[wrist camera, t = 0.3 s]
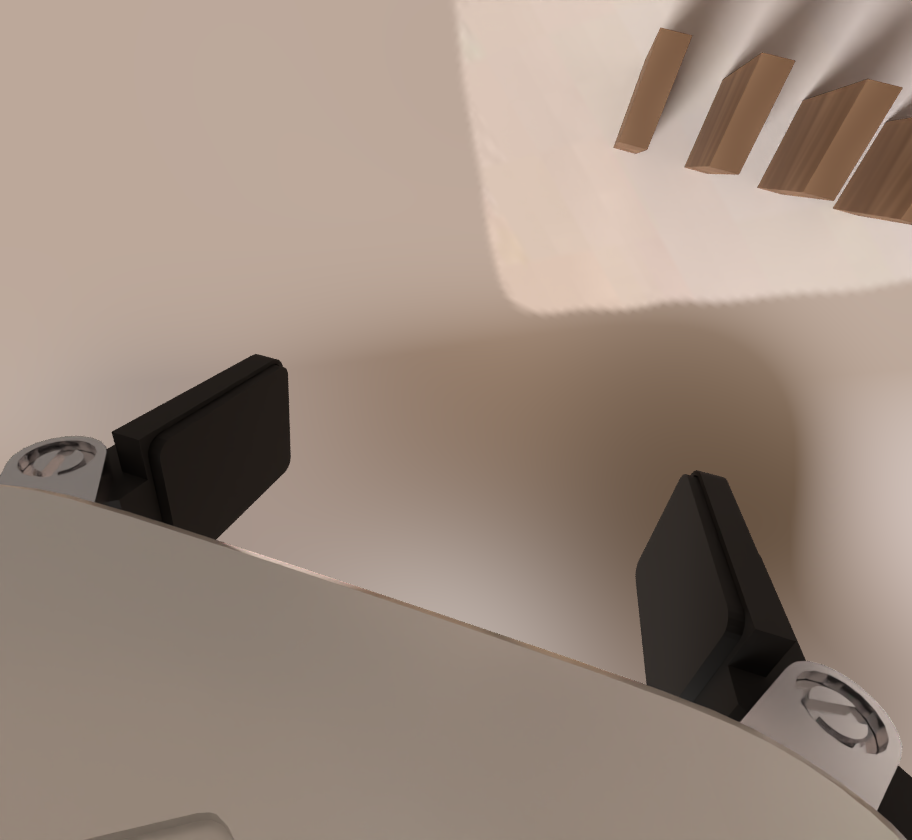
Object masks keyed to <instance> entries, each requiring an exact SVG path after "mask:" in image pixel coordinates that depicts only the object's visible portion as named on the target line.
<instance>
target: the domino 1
mask: <svg viewBox="0 0 912 840" xmlns="http://www.w3.org/2000/svg"><path fill="white" fill-rule="evenodd" d="M691 38H692V35H688V34H684V33H680V32H676V31H672V30H668V29H664V28H660V30H659V32H658V34H657V36H656V38H655V40H654V42H653V45H652V47H651V49H650V51H649V53H648V55H647V57H646V59H645V62H644V65H643V68H642V70H641V73H640V76H639V79H638V81H637V84H636V87H635V90H634V92H633V95H632V98H631V101H630V103H629V106H628V109H627V112H626V114H625V117H624V120H623V123H622V125H621V128H620V131H619V134H618V137H617V139H616V142H615V145H614V148H617V149H620V150H624V151H627V152H631V153H635V154H637V153H639V152H642V151H645V150H647V149H648V146H649V144H650V141H651V139H652V136H653V134H654V131H655V129H656V126H657V124H658V121H659V119H660V116H661V114H662V111H663V109H664V106H665V103H666V101H667V98H668V96H669V93H670V91H671V88H672V86H673V83H674V81H675V78H676V76H677V73H678V71H679V68H680V66H681V63H682V61H683V58H684V55H685V53H686V50H687V48H688V45H689V43H690V40H691Z"/></svg>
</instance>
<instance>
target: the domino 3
mask: <svg viewBox="0 0 912 840" xmlns="http://www.w3.org/2000/svg"><path fill="white" fill-rule="evenodd" d="M901 90H902V87H898V86H894V85H890V84H886V83H882V82H878V81H874V80H870V79H866V80H863V81H860V82H857V83H854V84H851V85H848V86H845V87H842V88H839V89H836V90H833V91H830V92H827V93H824V94H821V95H818V96H815V97H812V98H809V99H806V100H803V101H802V103H801V105H800V107H799V109H798V111H797V113H796V115H795V117H794V119H793V120H792V122H791V124H790V126H789V128H788V130H787V132H786V134H785V136H784V138H783V140H782V141H781V143H780V145H779V147H778V149H777V151H776V153H775V155H774V157H773V159H772V161H771V162H770V164H769V166H768V168H767V170H766V172H765V174H764V176H763V178H762V180H761V182H760V184H759V185H758V187H757V188H761V189H764V190H768V191H772V192H775V193H779V194H784V195H792V196H799V197H807V198H815V199H823V200H831V201H834V200H835V198H836V196H837V195H838V193H839V192H840V190H841V188H842V187H843V185H844V183H845V182H846V180H847V178H848V177H849V175H850V173H851V172H852V170H853V169H854V167H855V165H856V164H857V162H858V160H859V159H860V157H861V155H862V154H863V152H864V150H865V149H866V147H867V146H868V144H869V142H870V141H871V139H872V137H873V136H874V134H875V132H876V131H877V129H878V128H879V126H880V124H881V123H882V121H883V119H884V118H885V116H886V114H887V113H888V111H889V109H890V108H891V106H892V105H893V103H894V101H895V100H896V98H897V96H898V95H899V93H900V91H901Z"/></svg>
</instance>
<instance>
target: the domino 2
mask: <svg viewBox="0 0 912 840" xmlns="http://www.w3.org/2000/svg"><path fill="white" fill-rule="evenodd" d="M794 63H795V61H794V60H790V59H786V58H782V57H778V56H774V55H770V54H766V53H761V54H759V55H758V56H756V57H755V58H753V59H752V60H751V61H749V62H748V63H746V64H745V65H743V66H742V67H741V68H739V69H738V70H736V71H735V72H733V73H732V74H731V75H729V76H728V77H726V78H725V79H723V80H722V83H721V85H720V87H719V90H718V92H717V94H716V96H715V99H714V101H713V103H712V105H711V108H710V110H709V112H708V115H707V117H706V119H705V121H704V124H703V126H702V128H701V130H700V133H699V135H698V137H697V140H696V142H695V144H694V146H693V149H692V151H691V153H690V155H689V158H688V160H687V162H686V165H685V168H689V169H692V170H696V171H699V172H703V173H707V174H737V175H739V173H740V171H741V169H742V167H743V165H744V163H745V161H746V159H747V157H748V155H749V153H750V151H751V149H752V147H753V145H754V143H755V141H756V139H757V137H758V135H759V133H760V131H761V129H762V127H763V125H764V123H765V121H766V119H767V117H768V115H769V113H770V111H771V109H772V107H773V105H774V103H775V101H776V99H777V97H778V95H779V93H780V91H781V89H782V87H783V85H784V83H785V81H786V79H787V77H788V75H789V73H790V71H791V69H792V67H793V65H794Z"/></svg>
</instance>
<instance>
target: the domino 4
mask: <svg viewBox="0 0 912 840" xmlns="http://www.w3.org/2000/svg"><path fill="white" fill-rule="evenodd" d="M833 209H836V210H840V211H844V212H847V213H851V214H854V215H858V216H864V217H870V218H876V219H881V220H887V221H893V222H898V223H904V224H910V225H912V118H906V119H900V120H894V121H888V122H886V123H885V124H884V126H883V127H882V129H881V131H880V132H879V134H878V136H877V137H876V139H875V141H874V142H873V144H872V145H871V147H870V149H869V150H868V152H867V154H866V155H865V157H864V158H863V160H862V162H861V163H860V165H859V167H858V168H857V170H856V171H855V173H854V175H853V176H852V178H851V180H850V181H849V183H848V185H847V186H846V188H845V189H844V191H843V193H842V194H841V196H840V198H839V199H838V201H837V202H836V204H835V206H834V207H833Z"/></svg>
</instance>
